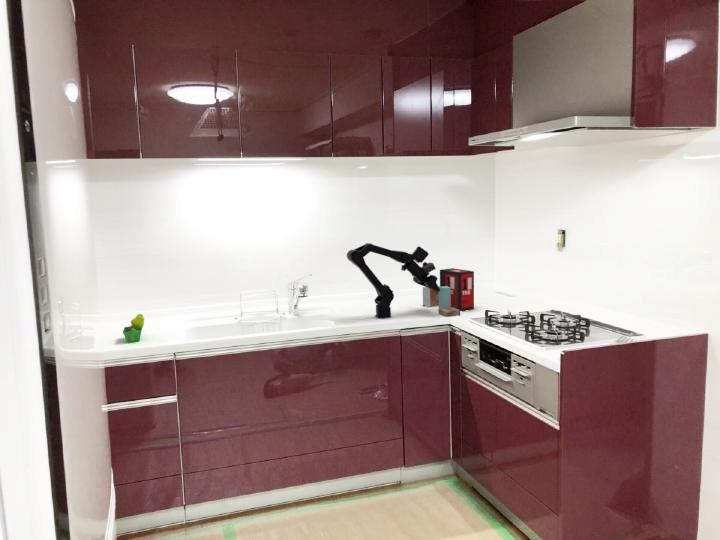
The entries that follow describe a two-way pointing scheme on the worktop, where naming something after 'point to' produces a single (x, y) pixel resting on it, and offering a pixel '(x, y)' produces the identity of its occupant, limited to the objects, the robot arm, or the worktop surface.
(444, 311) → the walnut slab
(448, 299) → the teal block
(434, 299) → the small box
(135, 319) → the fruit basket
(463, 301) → the cleaning product box
